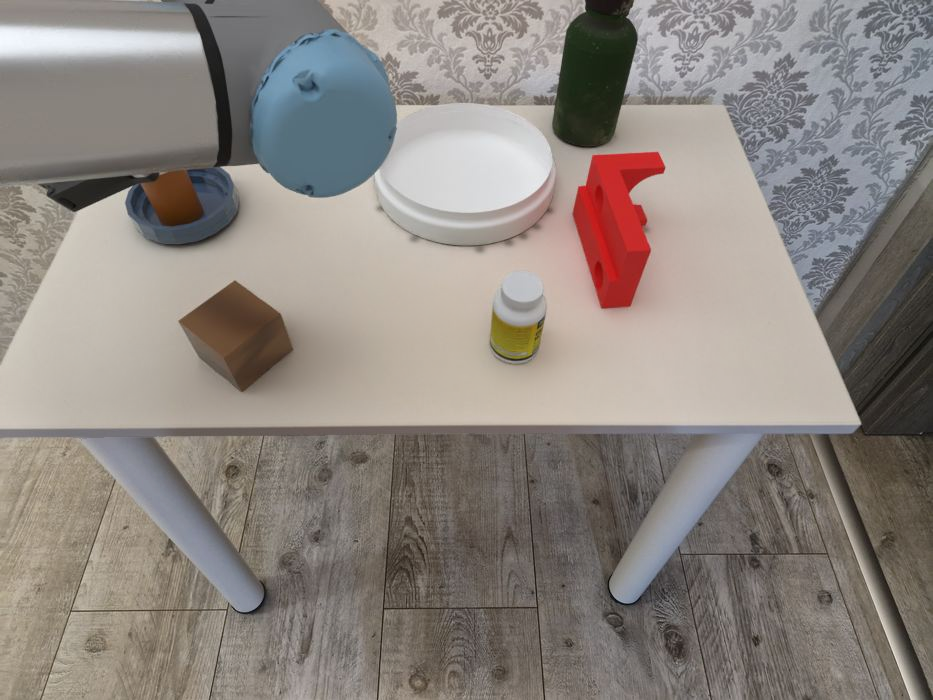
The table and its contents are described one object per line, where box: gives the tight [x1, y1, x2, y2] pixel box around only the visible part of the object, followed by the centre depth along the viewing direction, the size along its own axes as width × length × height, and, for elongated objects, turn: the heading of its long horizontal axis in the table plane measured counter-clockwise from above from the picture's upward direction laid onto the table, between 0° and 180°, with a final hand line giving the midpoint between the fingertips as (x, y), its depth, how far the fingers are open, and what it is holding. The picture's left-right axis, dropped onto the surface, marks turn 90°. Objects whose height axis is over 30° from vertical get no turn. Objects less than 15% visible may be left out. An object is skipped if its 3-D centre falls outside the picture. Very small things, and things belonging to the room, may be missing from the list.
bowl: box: [124, 167, 240, 245], centre depth 87 cm, size 14×15×4 cm
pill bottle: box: [489, 270, 548, 365], centre depth 72 cm, size 6×6×11 cm
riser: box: [177, 279, 294, 393], centre depth 72 cm, size 8×8×7 cm
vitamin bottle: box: [141, 170, 203, 226], centre depth 83 cm, size 6×6×11 cm
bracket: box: [572, 151, 667, 309], centre depth 81 cm, size 18×10×10 cm
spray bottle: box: [551, 0, 639, 147], centre depth 92 cm, size 10×10×25 cm
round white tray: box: [373, 102, 557, 247], centre depth 92 cm, size 27×27×6 cm
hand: (51, 111), depth 60 cm, fingers open, 13 cm apart
